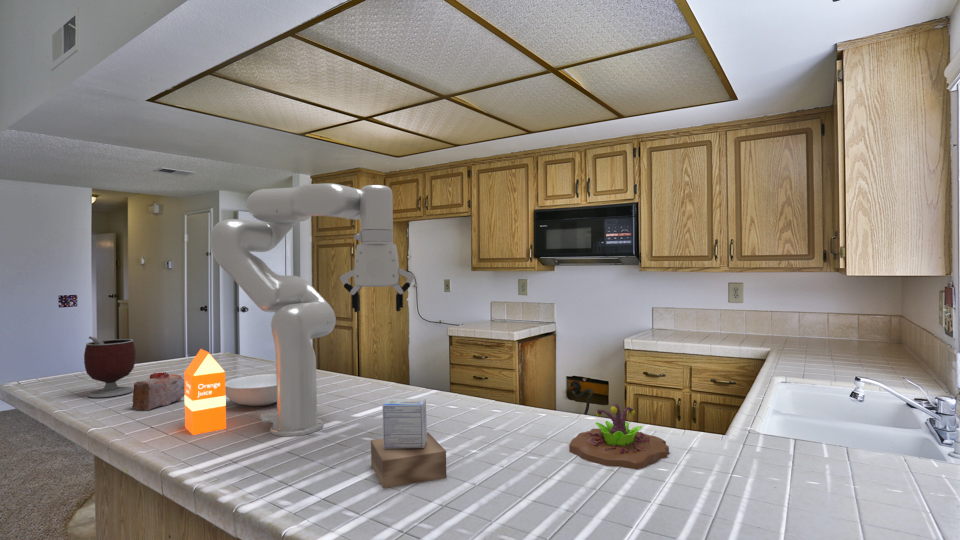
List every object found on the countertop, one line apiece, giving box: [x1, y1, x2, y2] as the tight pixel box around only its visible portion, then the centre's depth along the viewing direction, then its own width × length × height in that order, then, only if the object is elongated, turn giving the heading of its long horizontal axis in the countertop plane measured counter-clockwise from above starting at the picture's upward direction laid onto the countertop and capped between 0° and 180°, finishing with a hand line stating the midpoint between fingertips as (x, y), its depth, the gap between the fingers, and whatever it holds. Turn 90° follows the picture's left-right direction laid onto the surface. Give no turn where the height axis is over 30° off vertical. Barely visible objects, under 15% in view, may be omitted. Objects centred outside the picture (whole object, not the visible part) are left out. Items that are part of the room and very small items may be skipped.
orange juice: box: [183, 348, 227, 436], centre depth 130 cm, size 8×9×20 cm
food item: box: [131, 372, 185, 411], centre depth 154 cm, size 14×8×10 cm, turn 168°
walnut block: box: [370, 431, 447, 489], centre depth 99 cm, size 12×12×6 cm
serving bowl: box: [225, 373, 277, 407], centre depth 155 cm, size 21×21×7 cm
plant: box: [568, 403, 670, 471], centre depth 109 cm, size 20×20×11 cm
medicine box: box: [382, 398, 428, 449], centre depth 99 cm, size 8×4×9 cm, turn 88°
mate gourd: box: [83, 336, 136, 398], centre depth 169 cm, size 16×14×20 cm
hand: (377, 311), depth 119 cm, fingers open, 9 cm apart
